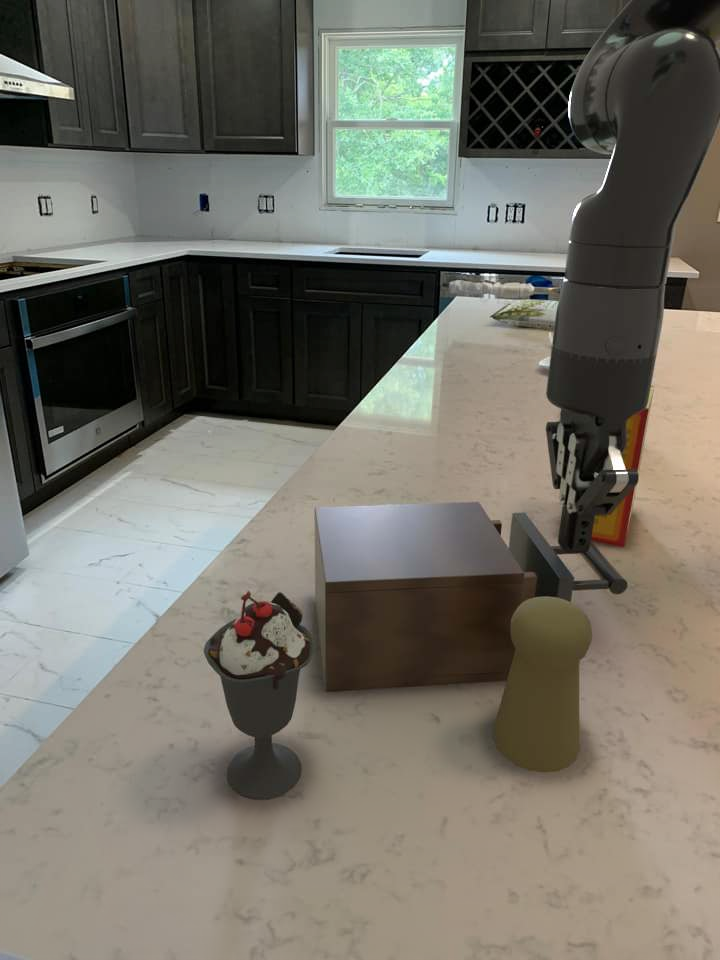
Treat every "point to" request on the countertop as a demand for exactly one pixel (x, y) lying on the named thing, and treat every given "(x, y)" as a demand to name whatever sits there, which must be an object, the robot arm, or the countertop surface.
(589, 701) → the countertop surface
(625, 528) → the baking soda box
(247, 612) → the sundae
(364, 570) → the cabinet
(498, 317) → the frozen beans
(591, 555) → the drawer
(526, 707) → the cork
